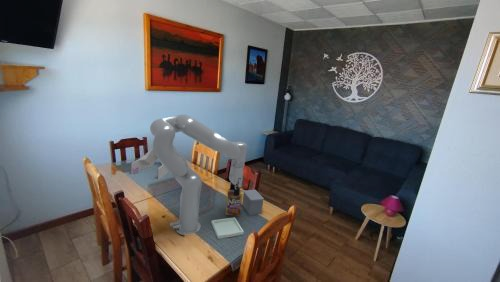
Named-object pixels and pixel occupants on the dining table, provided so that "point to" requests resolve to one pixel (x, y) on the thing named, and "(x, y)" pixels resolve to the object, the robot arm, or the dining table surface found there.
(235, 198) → the candy box
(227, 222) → the tray
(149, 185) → the dining table surface
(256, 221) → the dining table surface
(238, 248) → the dining table surface
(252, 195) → the block
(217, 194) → the dining table surface
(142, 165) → the casing
